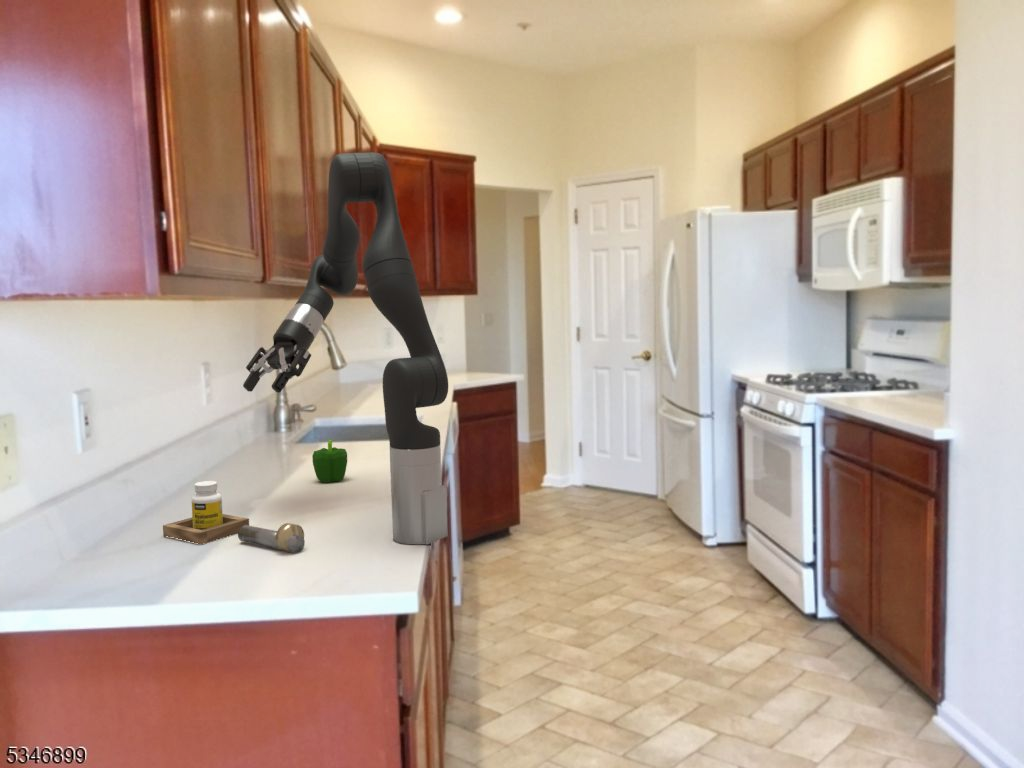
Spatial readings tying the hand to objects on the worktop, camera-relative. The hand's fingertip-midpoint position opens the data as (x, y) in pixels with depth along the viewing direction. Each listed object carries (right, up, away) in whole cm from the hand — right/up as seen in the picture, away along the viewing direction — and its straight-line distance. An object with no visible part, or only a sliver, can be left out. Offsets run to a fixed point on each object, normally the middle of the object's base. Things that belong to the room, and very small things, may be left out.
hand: (260, 389), depth 159 cm
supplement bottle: (-7, -28, -9) cm, 30 cm away
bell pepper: (+6, -23, +35) cm, 43 cm away
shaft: (+8, -28, -18) cm, 34 cm away
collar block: (-7, -28, -9) cm, 30 cm away
